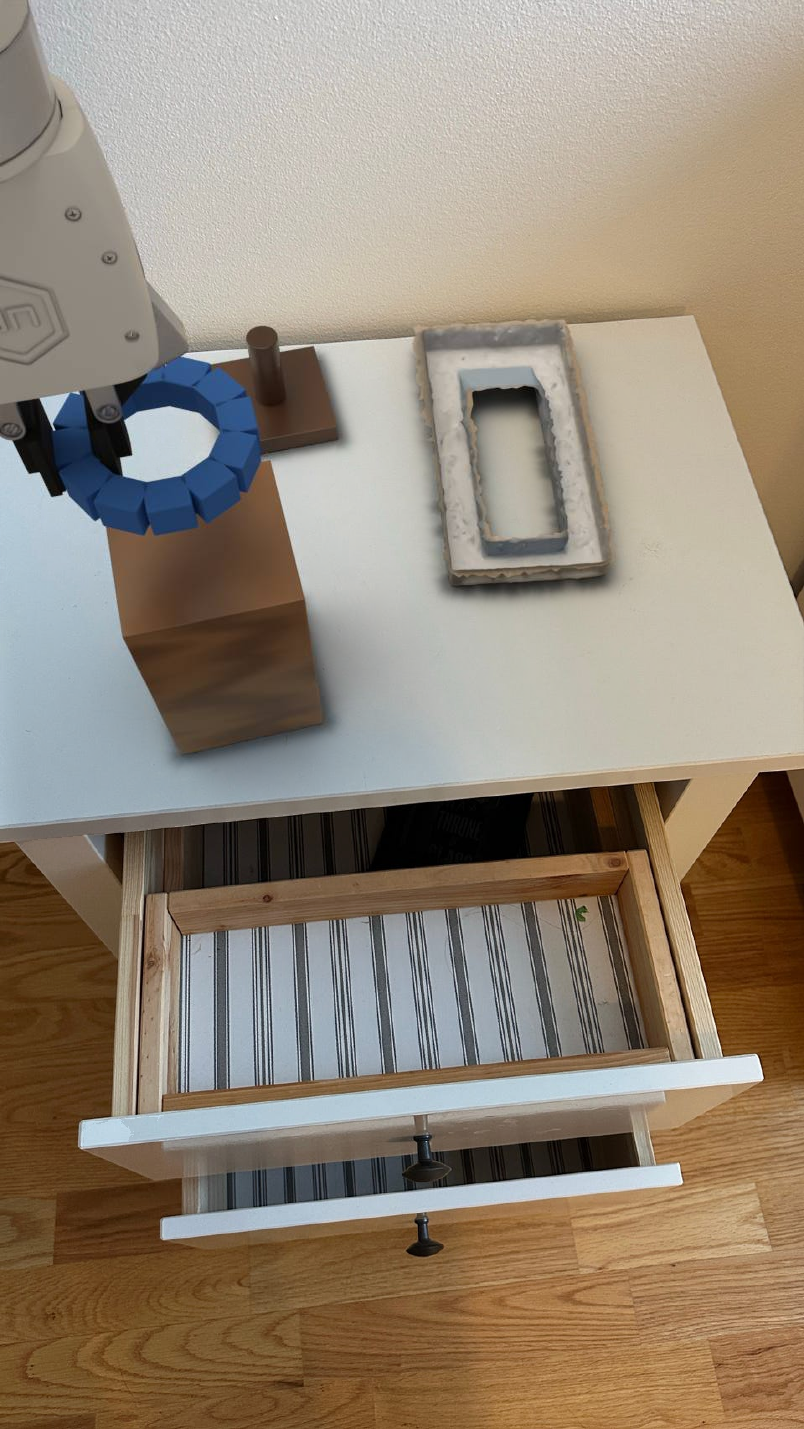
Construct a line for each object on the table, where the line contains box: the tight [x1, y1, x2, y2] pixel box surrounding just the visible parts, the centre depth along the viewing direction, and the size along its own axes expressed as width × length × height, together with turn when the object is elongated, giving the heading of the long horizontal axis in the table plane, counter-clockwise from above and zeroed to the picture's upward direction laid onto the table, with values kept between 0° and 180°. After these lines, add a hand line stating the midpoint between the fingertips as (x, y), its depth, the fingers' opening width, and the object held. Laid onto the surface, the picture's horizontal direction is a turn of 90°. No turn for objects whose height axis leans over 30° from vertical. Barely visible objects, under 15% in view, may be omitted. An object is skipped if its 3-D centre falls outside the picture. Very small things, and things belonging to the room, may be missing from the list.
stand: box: [105, 459, 324, 756], centre depth 62 cm, size 10×10×16 cm
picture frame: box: [411, 318, 616, 586], centre depth 77 cm, size 13×25×3 cm, turn 6°
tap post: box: [210, 325, 339, 455], centre depth 77 cm, size 9×9×8 cm
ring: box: [51, 356, 263, 536], centre depth 47 cm, size 10×10×2 cm
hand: (84, 466), depth 47 cm, fingers closed on ring, 2 cm apart
